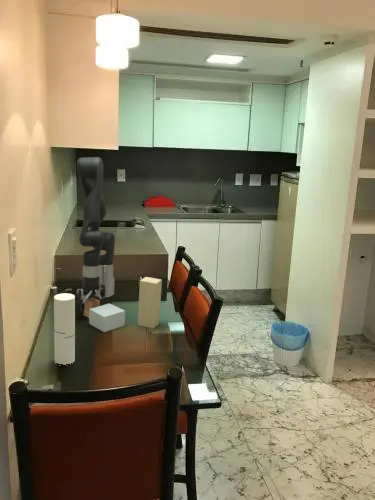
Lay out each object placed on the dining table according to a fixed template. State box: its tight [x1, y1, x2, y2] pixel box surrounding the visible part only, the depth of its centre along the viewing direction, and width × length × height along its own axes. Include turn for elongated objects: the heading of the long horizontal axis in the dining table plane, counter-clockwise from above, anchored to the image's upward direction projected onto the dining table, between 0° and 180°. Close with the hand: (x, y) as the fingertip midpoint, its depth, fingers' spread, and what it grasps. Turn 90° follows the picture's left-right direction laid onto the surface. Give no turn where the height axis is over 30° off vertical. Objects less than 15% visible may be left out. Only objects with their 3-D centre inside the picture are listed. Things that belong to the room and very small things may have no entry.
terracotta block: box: [83, 297, 101, 319], centre depth 203 cm, size 5×5×8 cm
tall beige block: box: [137, 276, 163, 329], centre depth 197 cm, size 8×7×21 cm
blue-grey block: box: [88, 302, 126, 333], centre depth 195 cm, size 11×11×7 cm
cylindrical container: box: [53, 292, 76, 366], centre depth 160 cm, size 7×7×25 cm
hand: (90, 308), depth 202 cm, fingers open, 8 cm apart
